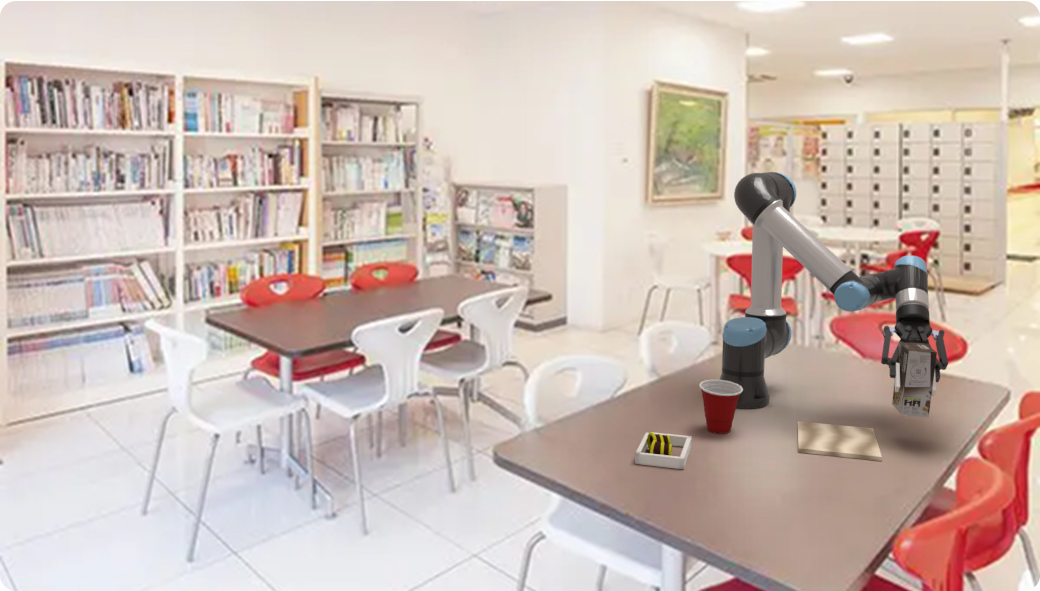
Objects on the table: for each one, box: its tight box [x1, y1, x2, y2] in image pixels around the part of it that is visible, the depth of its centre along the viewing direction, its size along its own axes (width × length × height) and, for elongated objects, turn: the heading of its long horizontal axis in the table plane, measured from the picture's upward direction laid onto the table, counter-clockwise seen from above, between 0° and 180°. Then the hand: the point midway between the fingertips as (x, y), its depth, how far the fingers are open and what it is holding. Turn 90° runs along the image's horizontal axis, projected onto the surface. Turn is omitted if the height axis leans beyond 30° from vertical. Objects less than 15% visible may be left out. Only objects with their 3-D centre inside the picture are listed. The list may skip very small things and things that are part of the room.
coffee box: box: [891, 342, 938, 419], centre depth 185 cm, size 9×6×16 cm
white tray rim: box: [634, 431, 693, 470], centre depth 182 cm, size 11×15×2 cm
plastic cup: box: [699, 379, 743, 435], centre depth 197 cm, size 11×11×12 cm
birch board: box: [797, 421, 883, 462], centre depth 189 cm, size 18×20×1 cm
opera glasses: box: [647, 431, 673, 456], centre depth 180 cm, size 10×5×5 cm, turn 175°
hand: (915, 391), depth 182 cm, fingers closed on coffee box, 7 cm apart
